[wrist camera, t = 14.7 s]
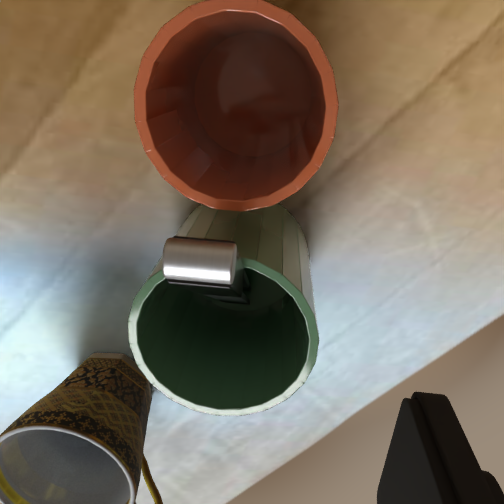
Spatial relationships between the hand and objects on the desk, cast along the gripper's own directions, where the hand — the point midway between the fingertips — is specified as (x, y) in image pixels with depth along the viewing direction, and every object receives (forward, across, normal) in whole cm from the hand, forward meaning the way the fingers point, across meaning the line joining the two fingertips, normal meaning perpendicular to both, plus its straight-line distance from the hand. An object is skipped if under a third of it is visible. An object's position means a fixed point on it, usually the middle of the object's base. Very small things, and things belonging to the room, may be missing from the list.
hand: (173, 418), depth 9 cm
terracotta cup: (+22, 0, -5) cm, 23 cm away
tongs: (+22, +1, +5) cm, 22 cm away
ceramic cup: (+22, +10, +20) cm, 31 cm away
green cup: (+22, 0, +6) cm, 23 cm away
